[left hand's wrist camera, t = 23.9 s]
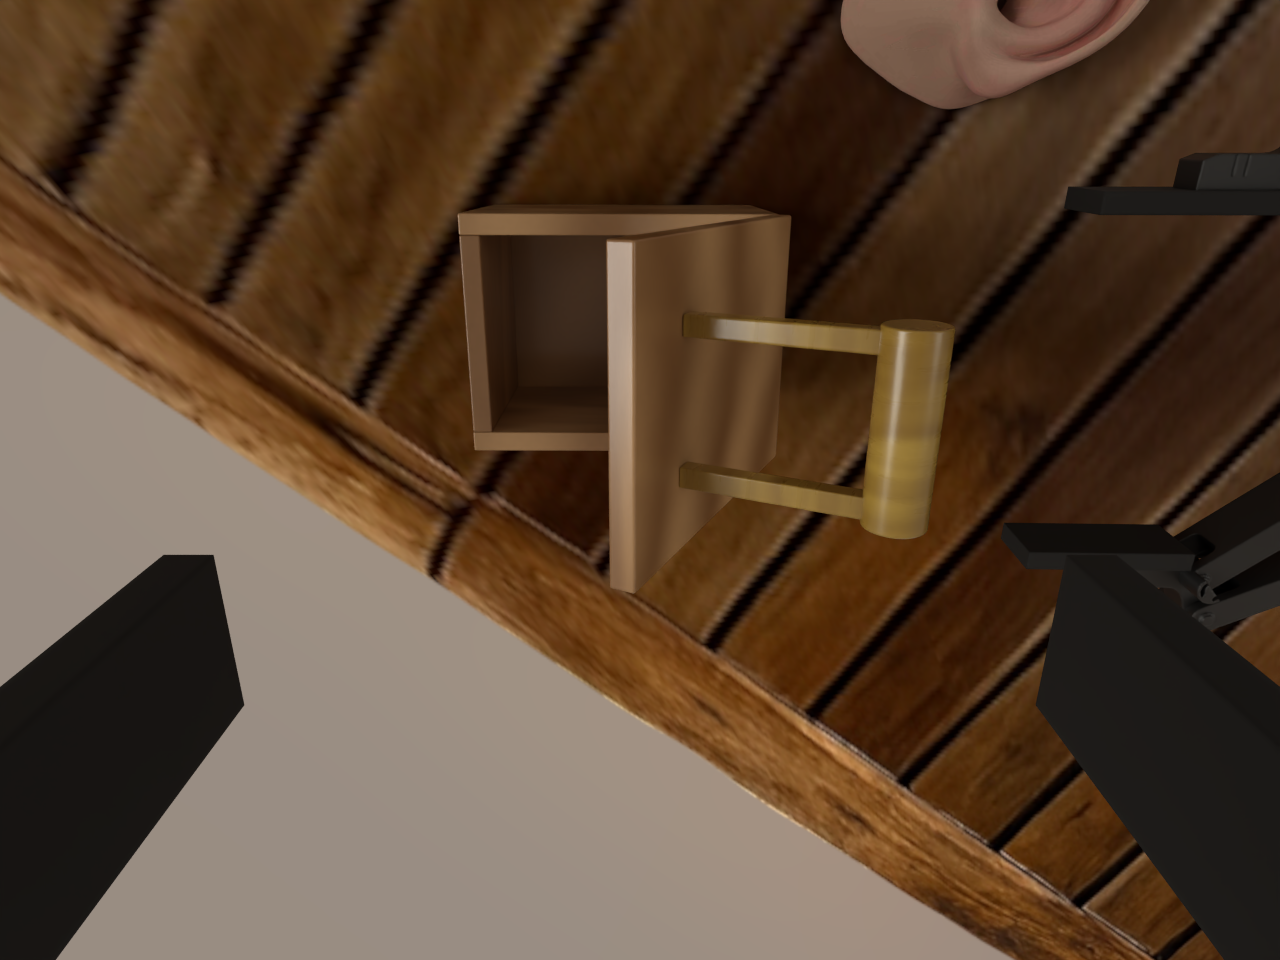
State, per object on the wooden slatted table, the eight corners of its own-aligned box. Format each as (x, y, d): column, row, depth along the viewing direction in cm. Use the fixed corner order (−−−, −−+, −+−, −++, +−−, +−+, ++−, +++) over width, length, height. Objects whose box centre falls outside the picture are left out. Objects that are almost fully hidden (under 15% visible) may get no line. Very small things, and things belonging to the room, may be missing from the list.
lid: (608, 588, 24) (897, 658, 21) (604, 238, 21) (950, 252, 17) (757, 453, 36) (957, 483, 33) (771, 214, 33) (997, 220, 29)
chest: (506, 397, 45) (474, 450, 37) (495, 204, 42) (457, 213, 33) (741, 397, 45) (765, 451, 37) (751, 205, 42) (779, 214, 33)
